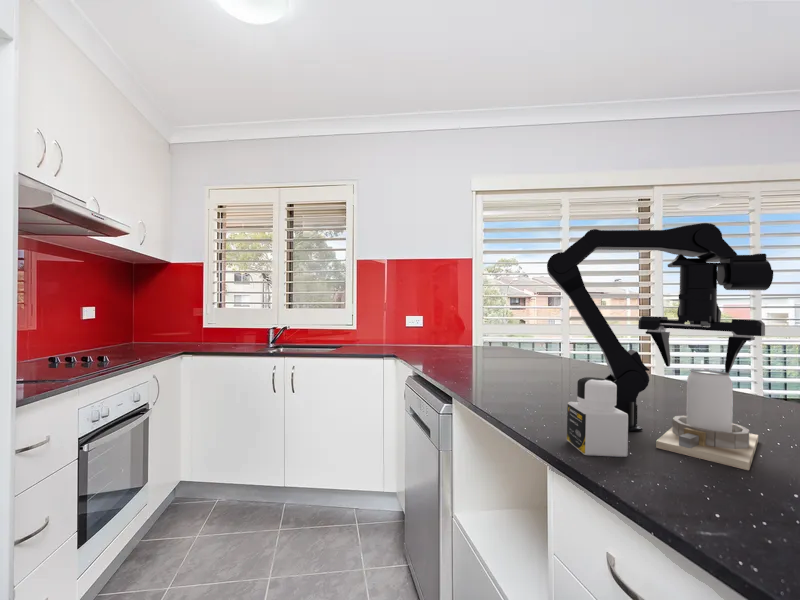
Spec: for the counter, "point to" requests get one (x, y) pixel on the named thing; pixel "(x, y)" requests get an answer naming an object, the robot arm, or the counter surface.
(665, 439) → the board
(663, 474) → the counter surface
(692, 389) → the can
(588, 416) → the medicine bottle
